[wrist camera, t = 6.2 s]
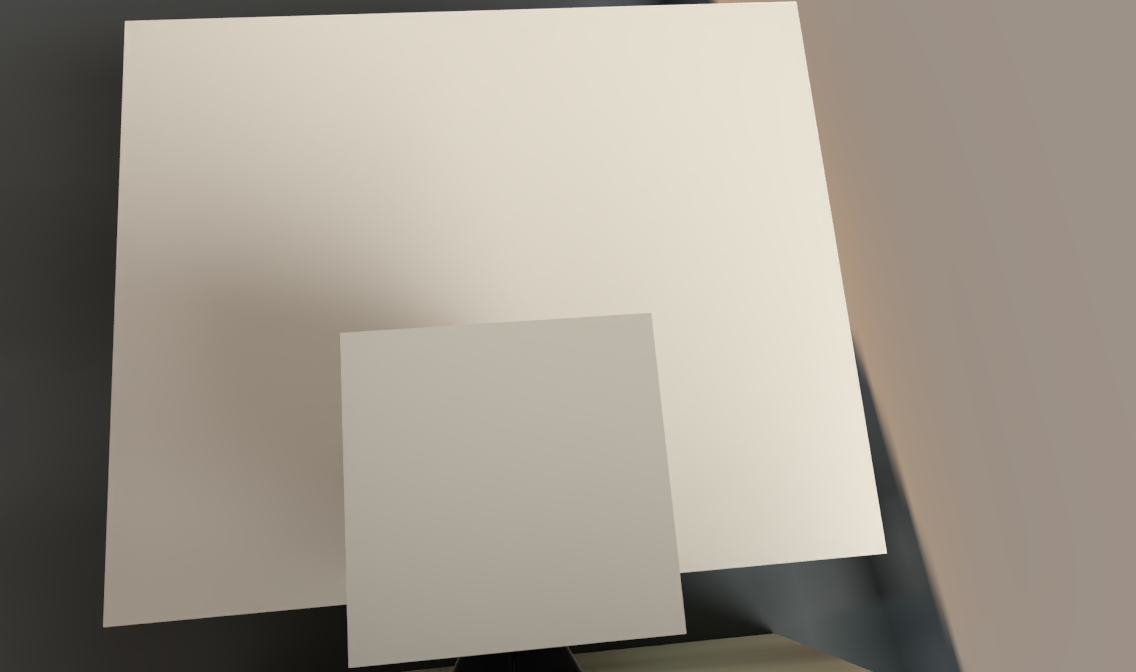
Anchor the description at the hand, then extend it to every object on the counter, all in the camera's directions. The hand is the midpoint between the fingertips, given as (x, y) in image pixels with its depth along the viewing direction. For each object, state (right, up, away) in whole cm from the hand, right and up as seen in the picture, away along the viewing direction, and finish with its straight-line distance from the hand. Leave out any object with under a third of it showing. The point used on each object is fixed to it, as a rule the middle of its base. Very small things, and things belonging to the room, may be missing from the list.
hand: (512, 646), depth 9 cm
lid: (-1, +4, +6) cm, 7 cm away
